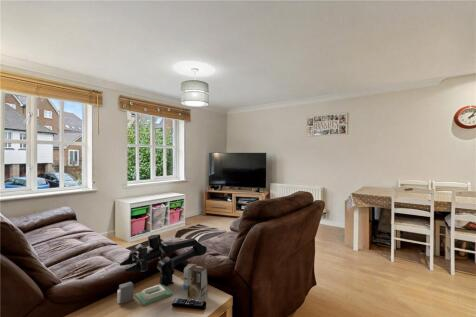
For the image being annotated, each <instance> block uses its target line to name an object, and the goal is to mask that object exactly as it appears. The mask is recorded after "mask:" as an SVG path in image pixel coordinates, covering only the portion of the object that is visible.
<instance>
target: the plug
mask: <svg viewBox="0 0 476 317" xmlns="http://www.w3.org/2000/svg"><path fill="white" fill-rule="evenodd" d="M133 300H134V283H133V282H132V281H128V282H125V283H121V284H119V285H118V289H117V296H116V302H117V304H121V305H122V304H124V303H127V302H130V301H133Z"/></svg>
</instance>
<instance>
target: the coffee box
mask: <svg viewBox="0 0 476 317" xmlns="http://www.w3.org/2000/svg"><path fill="white" fill-rule="evenodd" d="M208 270H209V269H208V267H206V266H202V265H197V264H196V265H193V266H191V267H190V268H189V269H188V290H186V291H187V296H186V298H187V300H190V299H193V300H198V301H203V302H204V301H205V300H206V299H207V298H208ZM193 300H192V301H193Z"/></svg>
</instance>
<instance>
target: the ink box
mask: <svg viewBox="0 0 476 317" xmlns="http://www.w3.org/2000/svg"><path fill="white" fill-rule="evenodd" d="M193 265H197V264H195V263H188V264H187V265H186V266H185V267H184V269H183V286H182V287H183V290H184V291H187V290H188V269H189V268H190V267H191V266H193Z"/></svg>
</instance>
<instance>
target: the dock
mask: <svg viewBox="0 0 476 317" xmlns="http://www.w3.org/2000/svg"><path fill="white" fill-rule="evenodd" d="M171 296H173V292H172V291H171V290H170V289H169V288H168V287H167V286H164V285H161V284H160V283H159V284H156V285H154V286H151V287H148V288H145V289H142V290H141V291H140V292H137V293H135V294H134V297H136V299H137V300H138V302H139V303H140V304H141V305H142V306H143V307H145V306H147V305H149V304H152V303H155V302H158V301H160V300H163V299H165V298H168V297H171Z"/></svg>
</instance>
